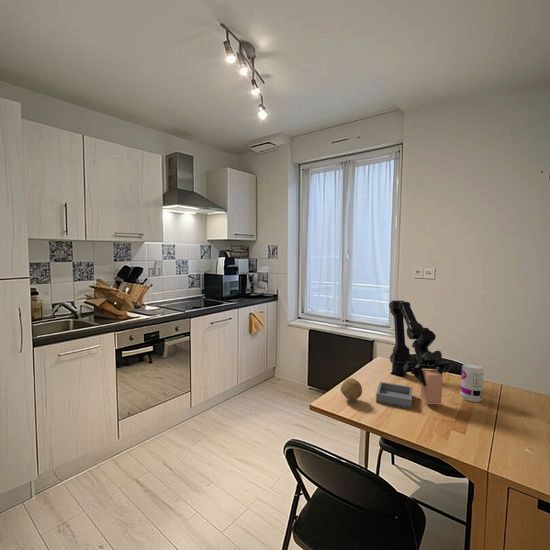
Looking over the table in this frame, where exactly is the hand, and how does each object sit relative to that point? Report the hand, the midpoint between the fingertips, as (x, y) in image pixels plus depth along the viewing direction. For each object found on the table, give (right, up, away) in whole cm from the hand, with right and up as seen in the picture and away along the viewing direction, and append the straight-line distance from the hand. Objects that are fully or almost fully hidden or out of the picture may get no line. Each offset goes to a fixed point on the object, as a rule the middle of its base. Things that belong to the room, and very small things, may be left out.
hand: (432, 386), depth 134 cm
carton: (0, -6, +2) cm, 7 cm away
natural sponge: (-33, -8, +5) cm, 35 cm away
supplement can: (+21, -9, +9) cm, 25 cm away
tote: (-13, -8, +7) cm, 17 cm away
